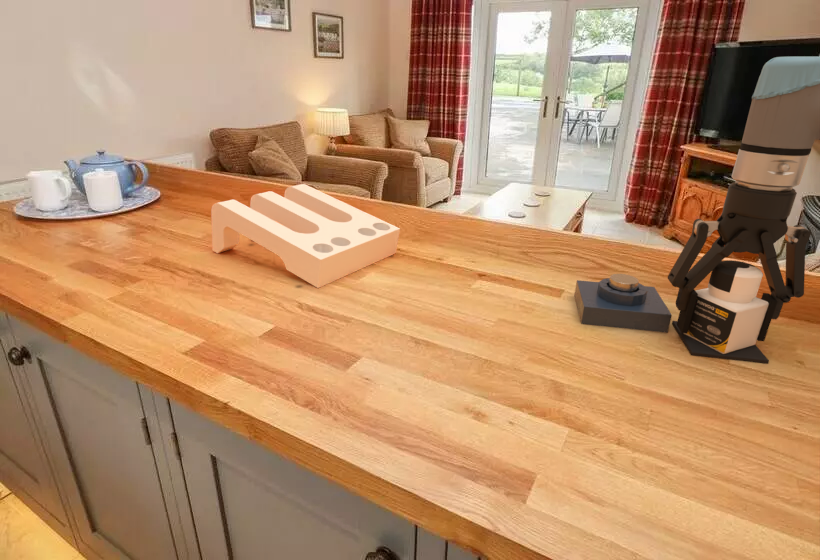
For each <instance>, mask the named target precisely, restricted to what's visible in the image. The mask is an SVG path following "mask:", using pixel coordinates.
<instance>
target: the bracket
mask: <svg viewBox="0 0 820 560" xmlns="http://www.w3.org/2000/svg"><path fill="white" fill-rule="evenodd" d="M249 204H250V205H249V206H247V205H246V204H244V203H242V202H240V201H238V200H237V199H229V200H223V201H219V202H215V203H213V204H212V206H211V210H210V215H211V217H210V218H211V251H213V252H214V253H216V254H220V253H223V252H226V251H229V250H233V249H235V248H236V247H237V246H238V245H239V244H240V235H242V236H243V237H246V238H247V239H249V240H250V241H252V242H254V243H256V244H257V245H259V246H261V247H263V248H264V249H266V250H268V251H270V252H272V253H273V254H275V255H277V256H278V257H279V258H280V259H281V261H282V262H283V264H284V266H285V269H286V270H287V271H288V272H289V273H292V274H293V275H295V276H297V277H298V278H300V279H302V281H305V282H307V283H308V284H310V285H312V286H313V287H315V288H317V289H319V288H322V287H324V286H327V285H328V284H330V283H333V282H335V281H338V280H339V279H342V278H344V277H346V276H348V275H351V274H353V273H355V272H357V271H359V270H361V269H364V268H366V267H369V266H370V265H373V264H375V263H377V262H379V261H381V260H383V259H384V260H385V259H386V258H388V257H390V256H393V255H395V254H396V253H397V250H398V244H399V238H400V232H401V228H400V227H398V226H396V225H394V224H391V223H389V222H387V221H385V220H383V219H380V218H378V217H377V216H374V215H372V214H371V213H368V212H365V211H363V210H361V209H359V208H357V207H355V206H352V205H351V204H349V203H347V202H344V201H342V200H340V199H338V198H336V197H333V196H331V195H329V194H327V193H325V192H323V191H320V190H318V189H316V188H314V187H311V186H309V185H307V184H306V183H301V184H296V185H291V186H288V187H286V188H285V190H284V196H282V195H281V194H278V193H276V192H274V191H272V190H269V191H265V192H259V193H255V194H253V195H252V196H251V197H250V202H249Z"/></svg>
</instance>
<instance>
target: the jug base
mask: <svg viewBox="0 0 820 560" xmlns="http://www.w3.org/2000/svg"><path fill="white" fill-rule="evenodd" d="M609 280H610V277H607V278H602V279H601V280H600V281H592V280H591V281H590V280H577V279H576V282H575V287H574V300H575V304H576V309H577V313H578V316H579V320H580V324H581V325H588V326H598V327H606V328H607V327H608V328H617V329H627V330H635V331H636V330H637V331H646V332H655V333H656V332H657V333H665V334H667V333H668V332H669V328H670V325H671V321H672V316H673V314H672V313H671V311H670V309H669V308H668V306H667V305H666V303H665V301H664V300H663V299H662V297H661V295H660V293H659V292H658V291H657V289H656V288H655V286H647V285H643V284H641V283H640V282H639V283H638V288H637V291H636V292H632V293H626V292H619V291H616V290H613V289H611V288H609V287H608V285H609Z"/></svg>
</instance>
